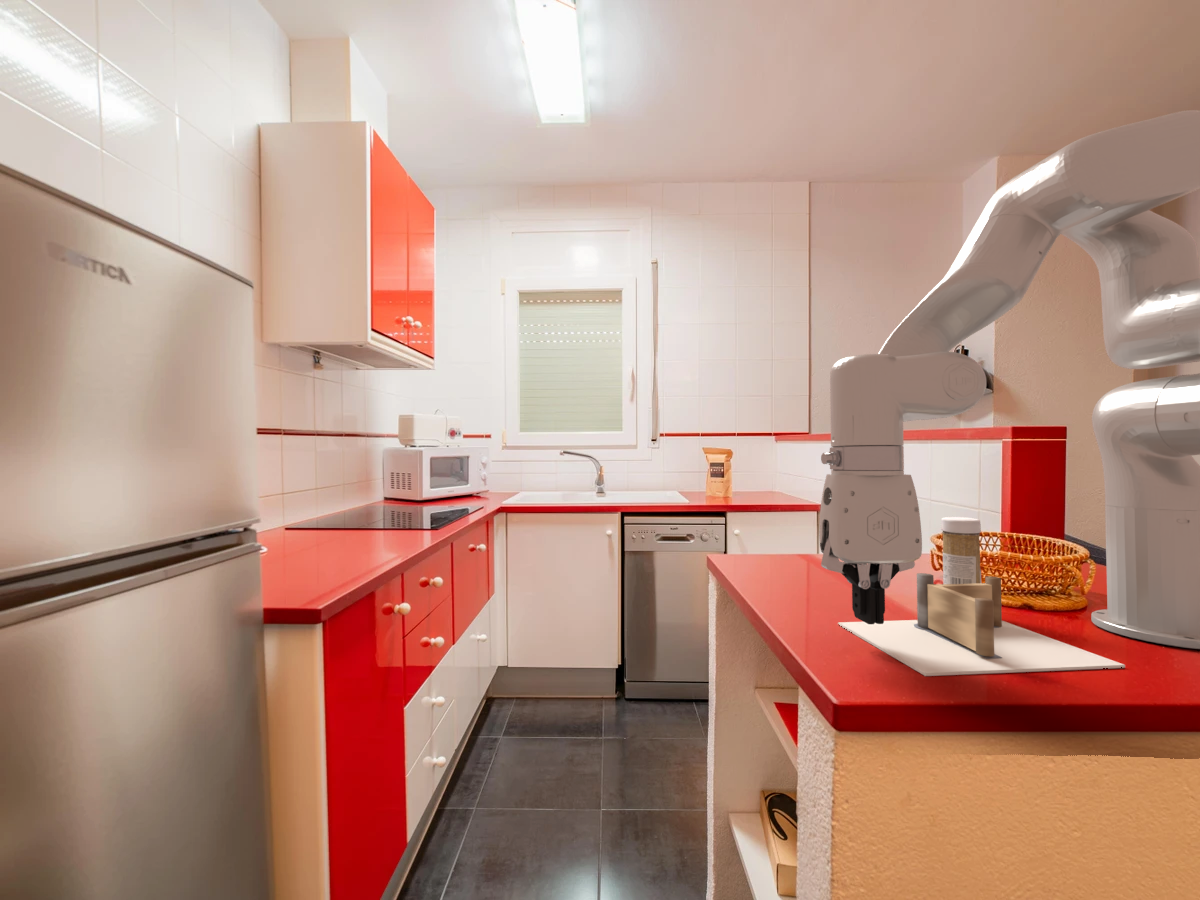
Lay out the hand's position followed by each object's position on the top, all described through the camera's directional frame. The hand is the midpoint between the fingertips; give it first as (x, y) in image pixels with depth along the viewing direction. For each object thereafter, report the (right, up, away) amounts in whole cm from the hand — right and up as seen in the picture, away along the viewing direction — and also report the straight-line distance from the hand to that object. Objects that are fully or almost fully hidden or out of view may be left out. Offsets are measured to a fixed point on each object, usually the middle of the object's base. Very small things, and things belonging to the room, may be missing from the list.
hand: (868, 620), depth 59 cm
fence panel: (+10, -2, 0) cm, 11 cm away
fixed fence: (+15, -3, +6) cm, 16 cm away
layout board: (+12, -3, +1) cm, 12 cm away
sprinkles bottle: (+20, -4, +13) cm, 24 cm away
